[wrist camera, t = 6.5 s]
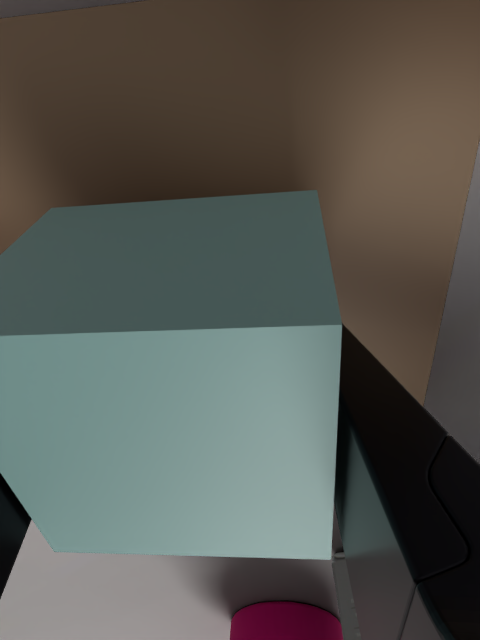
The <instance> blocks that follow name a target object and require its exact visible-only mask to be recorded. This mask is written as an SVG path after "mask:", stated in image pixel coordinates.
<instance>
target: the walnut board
mask: <svg viewBox="0 0 480 640" xmlns="http://www.w3.org/2000/svg"><path fill="white" fill-rule="evenodd" d="M479 140H480V0H146V1H138V2H130V3H122V4H113V5H105V6H97V7H89V8H81V9H72V10H64V11H56V12H48V13H40V14H31V15H23V16H15V17H7V18H0V255H1V254H2V253H3V252H4V251H5V250H6V249H7V248H8V247H9V246H11V245H12V244H13V243H14V242H15V241H16V240H17V239H18V238H19V237H20V236H21V235H23V234H24V233H25V232H26V231H27V230H28V229H29V228H30V227H31V226H32V225H33V224H34V223H36V222H37V221H38V220H39V219H40V218H41V217H42V216H43V215H44V214H45V213H46V212H47V211H49V210H50V209H51V208H59V207H73V206H88V205H103V204H117V203H132V202H147V201H161V200H176V199H191V198H205V197H220V196H235V195H249V194H264V193H279V192H293V191H308V190H317V193H318V198H319V203H320V209H321V214H322V219H323V225H324V230H325V236H326V241H327V246H328V252H329V257H330V262H331V268H332V273H333V278H334V284H335V289H336V294H337V300H338V305H339V310H340V316H341V321H342V323H343V324H344V325H345V326H346V327H347V328H348V329H349V331H350V332H351V333H352V334H353V335H354V336H355V337H356V338H357V339H358V340H359V341H360V342H361V343H362V344H363V345H364V346H365V347H366V348H367V349H368V350H369V351H370V352H371V353H372V354H373V355H374V356H375V357H376V359H377V360H378V361H379V362H380V363H381V364H382V365H383V366H384V367H385V368H386V369H387V370H388V371H389V372H390V373H391V374H392V375H393V376H394V377H395V378H396V379H397V380H398V381H399V382H400V383H401V384H402V385H403V387H404V388H405V389H406V390H407V391H408V392H409V393H410V394H411V395H412V396H413V397H414V398H415V399H416V400H417V401H418V402H419V403H420V404H421V405H422V406H423V405H424V400H425V396H426V391H427V386H428V381H429V377H430V372H431V367H432V362H433V358H434V353H435V348H436V343H437V339H438V334H439V329H440V324H441V320H442V315H443V310H444V305H445V301H446V296H447V291H448V287H449V282H450V277H451V272H452V268H453V263H454V258H455V253H456V249H457V244H458V239H459V234H460V230H461V225H462V220H463V215H464V211H465V206H466V201H467V196H468V192H469V187H470V182H471V178H472V173H473V168H474V163H475V159H476V154H477V149H478V144H479Z"/></svg>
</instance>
